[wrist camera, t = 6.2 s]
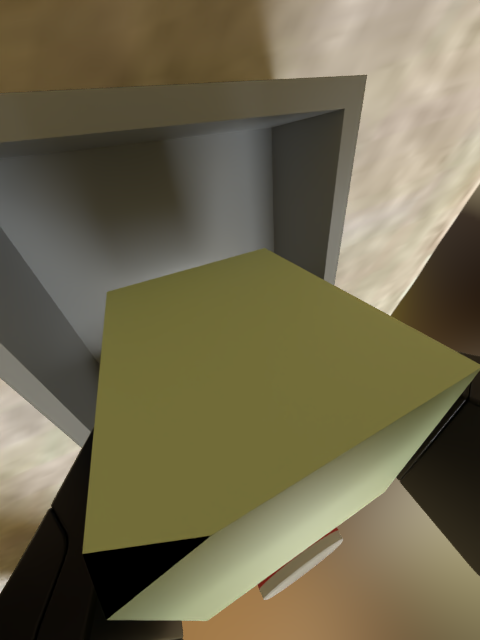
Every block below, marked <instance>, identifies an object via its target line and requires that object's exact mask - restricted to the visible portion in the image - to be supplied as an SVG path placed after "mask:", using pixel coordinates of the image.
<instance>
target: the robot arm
mask: <svg viewBox="0 0 480 640" xmlns="http://www.w3.org/2000/svg"><path fill="white" fill-rule="evenodd" d="M456 352H457V351H456ZM458 353H460V354H461V355H463V356H465V357H467V358H469V359H471V360H473V361H474V362H476V363H478V364H480V356H476V355H471V354H466V353H462V352H458ZM93 434H94V427H93V429H92V431H91V432H90V434H89V436H88V438H87V440H86V442H85V443H84V445H83V447H82V449H81V451H80V453H79V454H78V456H77V458H76V460H75V462H74V464H73V465H72V467H71V469H70V471H69V473H68V475H67V476H66V478H65V480H64V482H63V484H62V486H61V487H60V489H59V491H58V493H57V495H56V497H55V498H54V500H53V502H52V504H51V507H52V508H50V509H49V510H48V511H47V513H46V515H45V516H44V518H43V520H42V522H41V524H40V526H39V527H38V529H37V531H36V533H35V535H34V536H33V538H32V540H31V542H30V543H29V545H28V547H27V549H26V550H25V552H24V554H23V556H22V558H21V559H20V561H19V563H18V565H17V566H16V568H15V570H14V572H13V573H12V575H11V577H10V578H9V580H8V582H7V583H6V585H5V587H4V588H3V590H2V591H1V593H0V640H183V639H182V638H183V629H182V620H106V618H105V615H104V612H103V609H102V607H101V604H100V601H99V598H98V596H97V593H96V590H95V587H94V585H93V582H92V579H91V576H90V574H89V571H88V568H87V565H86V563H85V560H84V557H83V554H82V552H83V541H84V531H85V520H86V509H87V499H88V488H89V477H90V467H91V456H92V445H93ZM396 478H397V479H398V480H400V482H401V484H402V485H403V486H404V488H405V489H406V490H407V491H408V492H409V493H410V495H411V496H412V497H413V498H414V500H415V501H416V502H417V503H418V504H419V506H420V507H421V508H422V509H423V510H424V511H425V513H426V514H427V515H428V516H429V517H430V519H431V520H432V521H433V522H434V523H435V525H436V526H437V527H438V528H439V529H440V530H441V532H442V533H443V534H444V535H445V536H446V538H447V539H448V540H449V541H450V543H451V544H452V545H453V546H454V547H455V549H456V550H457V551H458V552H459V553H460V554H461V556H462V557H463V558H464V559H465V561H466V562H467V563H468V564H469V565H470V566H471V568H473V570H474V571H475V572H476V573H477V574H478V575H479V576H480V371H479V372H478V373H477V375H476V376H475V377H474V379H473V380H472V381H471V382H470V384H469V385H468V386H467V387H466V389H465V390H464V391H463V393H462V394H461V395H460V396H459V398H458V399H457V400H456V401H455V403H454V404H453V405H452V407H451V408H450V409H449V410H448V412H447V413H446V414H445V415H444V417H443V418H442V419H441V421H440V422H439V423H438V424H437V426H436V427H435V428H434V429H433V431H432V432H431V433H430V435H429V436H428V437H427V438H426V440H425V441H424V442H423V443H422V445H421V446H420V447H419V449H418V450H417V451H416V452H415V454H414V455H413V456H412V457H411V459H410V460H409V461H408V463H407V464H406V465H405V466H404V468H403V469H402V470H401V471H400V473H399V474H398V475H397V477H396Z"/></svg>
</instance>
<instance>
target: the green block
mask: <svg viewBox="0 0 480 640" xmlns="http://www.w3.org/2000/svg"><path fill="white" fill-rule="evenodd" d="M479 371H480V364H478V363H476V362H474V361H473V360H471V359H469V358H467V357H465V356H463V355H461V354H460V353H458V352H456V351H454V350H452V349H450V348H448V347H447V346H445V345H443V344H441V343H439V342H437V341H436V340H433V339H432V338H430V337H428V336H426V335H425V334H423V333H421V332H419V331H417V330H415V329H413V328H412V327H410V326H408V325H406V324H404V323H402V322H401V321H399V320H396V319H395V318H393V317H391V316H389V315H388V314H386V313H384V312H382V311H380V310H378V309H377V308H375V307H373V306H371V305H369V304H367V303H365V302H364V301H362V300H360V299H358V298H356V297H354V296H353V295H351V294H349V293H347V292H345V291H343V290H341V289H340V288H338V287H336V286H334V285H332V284H330V283H329V282H327V281H325V280H323V279H321V278H319V277H317V276H316V275H314V274H312V273H310V272H308V271H306V270H305V269H303V268H301V267H299V266H297V265H295V264H293V263H292V262H290V261H288V260H286V259H284V258H282V257H281V256H279V255H277V254H275V253H273V252H271V251H269V250H268V249H266V248H263V249H259V250H256V251H252V252H248V253H245V254H241V255H238V256H234V257H230V258H227V259H223V260H220V261H216V262H212V263H209V264H205V265H202V266H198V267H194V268H191V269H187V270H184V271H180V272H176V273H173V274H169V275H166V276H162V277H158V278H155V279H151V280H148V281H144V282H140V283H137V284H133V285H130V286H126V287H123V288H119V289H115V290H112V291H108V292H107V295H106V306H105V317H104V328H103V338H102V349H101V360H100V370H99V381H98V392H97V402H96V413H95V424H94V434H93V445H92V456H91V467H90V477H89V488H88V499H87V509H86V520H85V531H84V541H83V552H82V554H83V557H84V560H85V563H86V565H87V568H88V571H89V574H90V576H91V579H92V582H93V585H94V587H95V590H96V593H97V596H98V598H99V601H100V604H101V607H102V609H103V612H104V615H105V618H106V620H184V621H185V620H186V621H191V620H193V621H208V620H209V619H210V618H212V617H213V616H215V615H216V614H217V613H219V612H220V611H222V610H223V609H224V608H226V607H227V606H228V605H230V604H231V603H232V602H234V601H235V600H237V599H238V598H239V597H241V596H242V595H244V594H245V593H246V592H248V591H249V590H250V589H252V588H253V587H255V586H256V585H257V584H259V583H260V582H261V581H263V580H264V579H266V578H267V577H268V576H270V575H271V574H272V573H274V572H275V571H277V570H278V569H279V568H281V567H282V566H283V565H285V564H286V563H288V562H289V561H290V560H292V559H293V558H294V557H296V556H297V555H299V554H300V553H301V552H303V551H304V550H305V549H307V548H308V547H310V546H311V545H312V544H314V543H315V542H316V541H318V540H319V539H321V538H322V537H323V536H325V535H326V534H327V533H329V532H330V531H332V530H333V529H334V528H336V527H337V526H338V525H340V524H341V523H343V522H344V521H345V520H347V519H348V518H349V517H350V516H352V515H354V514H355V513H356V512H358V511H359V510H360V509H362V508H363V507H365V506H366V505H367V504H369V503H370V502H371V501H373V500H374V499H375V498H377V497H378V496H379V495H381V494H382V493H384V492H385V491H386V489H387V488H388V487H389V485H390V484H391V483H392V482H393V480H394V479H395V478H396V477H397V475H398V474H399V473H400V471H401V470H402V469H403V468H404V466H405V465H406V464H407V463H408V461H409V460H410V459H411V457H412V456H413V455H414V454H415V452H416V451H417V450H418V449H419V447H420V446H421V445H422V443H423V442H424V441H425V440H426V438H427V437H428V436H429V435H430V433H431V432H432V431H433V429H434V428H435V427H436V426H437V424H438V423H439V422H440V421H441V419H442V418H443V417H444V415H445V414H446V413H447V412H448V410H449V409H450V408H451V407H452V405H453V404H454V403H455V401H456V400H457V399H458V398H459V396H460V395H461V394H462V393H463V391H464V390H465V389H466V387H467V386H468V385H469V384H470V382H471V381H472V380H473V379H474V377H475V376H476V375H477V373H478V372H479Z"/></svg>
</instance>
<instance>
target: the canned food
mask: <svg viewBox="0 0 480 640" xmlns="http://www.w3.org/2000/svg"><path fill="white" fill-rule="evenodd" d="M342 540H343V538H342V537H341V535H340V533H339V531H338V529H337V527H336V528H334V529H333V530H332V531H330V532H329V533H327V534H326V535H325V536H323V537H322V538H321V539H319V540H318V541H316V542H315V543H314V544H312V545H311V546H310V547H308V548H307V549H305V550H304V551H303V552H301V553H300V554H299V555H297V556H296V557H294V558H293V559H292V560H290V561H289V562H288V563H286V564H285V565H283V566H282V567H281V568H279V569H278V570H277V571H275V572H274V573H272V574H271V575H270V576H268V577H267V578H266V579H264V580H263V581H261V582H260V583H259V584H258V587H259V590H260V592H261V594H262V596H263V599H264V600H267V599H269V598H271V597H273V596H274V595H276V594H277V593H279V592H280V591H282V590H283V589H285V588H286V587H288V586H289V585H290V584H292V583H293V582H294V581H296V580H297V579H299V578H300V577H301V576H303V575H304V574H305V573H307V572H308V571H309V570H310V569H312V568H313V567H314V566H315V565H317V564H318V563H319V562H320V561H322V560H323V559H324V558H325V557H326V556H328V555H329V554H330V553H331V552H333V551H334V549H336V548H337V547H338V546H339V545H340V544H341V543H342Z"/></svg>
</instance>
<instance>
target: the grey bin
mask: <svg viewBox="0 0 480 640" xmlns="http://www.w3.org/2000/svg"><path fill="white" fill-rule="evenodd" d="M366 79H367V75H356V76H336V77H316V78H296V79H276V80H256V81H236V82H215V83H195V84H175V85H155V86H135V87H115V88H95V89H74V90H54V91H34V92H14V93H0V378H1V379H2V380H3V381H5V382H6V383H7V384H8V385H9V386H10V387H12V388H13V389H14V390H15V391H16V392H17V393H19V394H20V395H21V396H22V397H23V398H24V399H25V400H27V401H28V402H29V403H30V404H31V405H32V406H34V407H35V408H36V409H37V410H38V411H39V412H41V413H42V414H43V415H44V416H45V417H46V418H48V419H49V420H50V421H51V422H52V423H53V424H55V425H56V426H57V427H58V428H59V429H60V430H62V431H63V432H64V433H65V434H66V435H67V436H69V437H70V438H71V439H72V440H73V441H74V442H76V443H77V444H78V445H79V446H80V447H81V448H82V447H83V445H84V443H85V442H86V440H87V438H88V436H89V434H90V432H91V431H92V429H93V427H94V424H95V413H96V402H97V392H98V381H99V370H100V360H101V349H102V338H103V328H104V317H105V306H106V295H107V292H108V291H112V290H115V289H119V288H123V287H126V286H130V285H133V284H137V283H140V282H144V281H148V280H151V279H155V278H158V277H162V276H166V275H169V274H173V273H176V272H180V271H184V270H187V269H191V268H194V267H198V266H202V265H205V264H209V263H212V262H216V261H220V260H223V259H227V258H230V257H234V256H238V255H241V254H245V253H248V252H252V251H256V250H259V249H263V248H266V249H268V250H269V251H271V252H273V253H275V254H277V255H279V256H281V257H282V258H284V259H286V260H288V261H290V262H292V263H293V264H295V265H297V266H299V267H301V268H303V269H305V270H306V271H308V272H310V273H312V274H314V275H316V276H317V277H319V278H321V279H323V280H325V281H327V282H329V283H330V284H332V285H334V284H335V277H336V271H337V265H338V258H339V252H340V245H341V239H342V233H343V226H344V220H345V213H346V207H347V201H348V194H349V188H350V181H351V175H352V168H353V162H354V156H355V149H356V143H357V136H358V130H359V124H360V117H361V111H362V104H363V98H364V92H365V85H366Z"/></svg>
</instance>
